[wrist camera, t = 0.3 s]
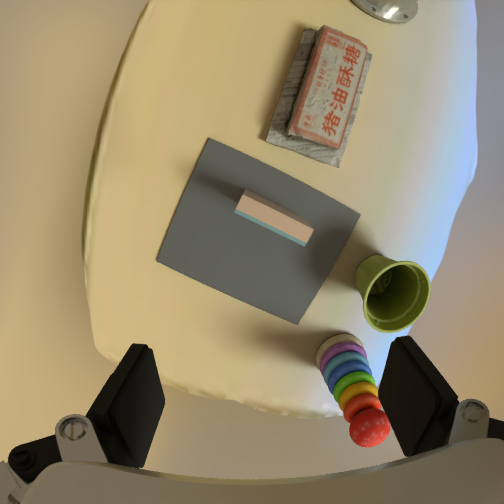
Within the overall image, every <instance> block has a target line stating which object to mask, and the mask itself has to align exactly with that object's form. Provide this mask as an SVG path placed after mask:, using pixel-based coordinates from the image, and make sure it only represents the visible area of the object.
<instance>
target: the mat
mask: <svg viewBox="0 0 504 504" xmlns="http://www.w3.org/2000/svg"><path fill="white" fill-rule="evenodd" d="M245 190H248V191H250V192H252V193H254V194H257V195H259V196H261V197H263V198H265V199H267V200H269V201H271V202H273V203H275V204H277V205H279V206H281V207H283V208H285V209H287V210H289V211H291V212H293V213H295V214H297V215H299V216H301V217H302V218H303V219H304V220H305V221H306V222H307V223H308V224H309V225H310V226H311V227H312V228H313V229H314V230H313V232H312V234H311V236H310V238H309V240H308V242H307V243H306V245H305V247H304V246H302V245H300V244H298V243H296V242H294V241H292V240H290V239H288V238H286V237H284V236H282V235H280V234H278V233H276V232H274V231H272V230H270V229H268V228H265V227H263V226H261V225H259V224H257V223H255V222H253V221H251V220H249V219H247V218H245V217H243V216H240V215H238V214H236V213H234V211H235V209H236V207H237V205H238V203H239V201H240V199H241V197H242V195H243V193H244V191H245ZM359 217H360V214H359V213H357V212H355V211H354V210H352V209H350V208H348V207H347V206H345V205H343V204H341V203H340V202H338V201H336V200H334V199H332V198H331V197H329V196H327V195H325V194H323V193H322V192H320V191H318V190H316V189H314V188H312V187H310V186H308V185H307V184H305V183H303V182H301V181H299V180H297V179H295V178H293V177H291V176H289V175H287V174H285V173H283V172H281V171H279V170H277V169H275V168H273V167H271V166H269V165H267V164H265V163H263V162H261V161H259V160H257V159H255V158H253V157H250V156H248V155H246V154H244V153H242V152H240V151H237V150H235V149H233V148H231V147H229V146H226V145H224V144H222V143H220V142H217V141H215V140H213V139H210V138H209V140H208V142H207V144H206V146H205V148H204V150H203V152H202V154H201V156H200V159H199V161H198V163H197V165H196V167H195V169H194V172H193V174H192V176H191V178H190V180H189V183H188V185H187V187H186V189H185V192H184V194H183V196H182V199H181V201H180V203H179V206H178V208H177V210H176V213H175V215H174V218H173V220H172V223H171V225H170V227H169V230H168V232H167V235H166V238H165V240H164V243H163V245H162V248H161V250H160V253H159V256H158V258H157V262H159V263H161V264H163V265H165V266H167V267H169V268H171V269H173V270H176V271H178V272H180V273H182V274H184V275H186V276H188V277H190V278H192V279H194V280H197V281H199V282H201V283H203V284H205V285H207V286H209V287H212V288H214V289H216V290H218V291H220V292H223V293H225V294H227V295H229V296H231V297H234V298H236V299H238V300H240V301H243V302H245V303H247V304H249V305H252V306H254V307H256V308H259V309H261V310H263V311H266V312H268V313H270V314H273V315H275V316H277V317H280V318H282V319H284V320H287V321H289V322H292V323H294V324H296V325H298V323H299V322H300V320H301V318H302V317H303V315H304V314H305V312H306V310H307V309H308V307H309V305H310V304H311V302H312V301H313V299H314V297H315V296H316V294H317V292H318V291H319V289H320V287H321V285H322V284H323V282H324V280H325V279H326V277H327V275H328V274H329V272H330V270H331V268H332V267H333V265H334V263H335V261H336V260H337V258H338V256H339V254H340V252H341V251H342V249H343V247H344V245H345V243H346V242H347V240H348V238H349V236H350V234H351V232H352V230H353V229H354V227H355V225H356V223H357V221H358V219H359Z"/></svg>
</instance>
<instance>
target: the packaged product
mask: <svg viewBox="0 0 504 504" xmlns="http://www.w3.org/2000/svg"><path fill="white" fill-rule="evenodd" d="M371 57H372V54H370V53H368V52H367V46H366V45H364V44H363V43H362V42H361V41H360V40H359V39H356V38H354V37H351V36H348V35H346V34H343V33H342V32H341V31H338V30H336V29H332V28H330V27H328V26H326V25H323V26H322V27H321V29H319V30H318V31H316V30H313V29H304V32H303V34H302V37H301V40H300V43H299V46H298V49H297V51H296V54H295V56H294V59H293V62H292V65H291V68H290V71H289V74H288V76H287V79H286V81H285V84H284V87H283V89H282V93H281V96H280V99H279V102H278V104H277V107H276V110H275V113H274V116H273V119H272V121H271V124H270V127H269V131H268V134H267V138H266V142H268V143H271V144H273V145H275V146H278V147H281V148H285V149H288V150H292V151H294V152H297V153H299V154H301V155H304V156H306V157H309V158H311V159H314V160H316V161H319V162H321V163H325V164H328V165H332V166H335V167H338V168H339V166H340V162H341V159H342V156H343V154H344V151H345V148H346V144H347V141H348V138H349V135H350V132H351V128H352V125H353V122H354V119H355V115H356V112H357V109H358V105H359V102H360V95H361V94H362V91H363V87H364V84H365V80H366V76H367V72H368V69H369V65H370V62H371Z"/></svg>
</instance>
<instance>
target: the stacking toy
mask: <svg viewBox="0 0 504 504" xmlns="http://www.w3.org/2000/svg"><path fill="white" fill-rule="evenodd" d="M316 365H317V367H318V369H319V370H320V371H321V374H322V375H323V377H324V381H325V383H326V384H327V386H328V388H329V391H330V392H331V393H332V394H333V395H334V398H335V400H336V402H337V403H339V407H340V409H341V410H342V411H343V414H344V418H345V420H346V421H347V422H349V423H351V424H350V428H349V432H350V436H351V439H352V440H353V441H354V442H355V443H356V444H357V445H359V446H362V447H373V446H376V445H378V444H380V443H381V442H383V441H384V440H385V439H386V437H387V436H388V434H389V431H390V422H389V420H388V418H387V415H386V413H385V412H383V411H381V410H380V409H381V403H380V400H379V398H378V389H377V387H376V386H375V380H374V378H373V377H372V372H371V369H370V368H369V363H368V360H367V355H366V352H365V350H364V347H363V344H362V342H361V341H360V340H359V339H358V338H356V337H355V336H352V335H348V334H341V335H336V336H334V337H331V338H330V339H328V340H327V341H325V342H324V343H323V344H322V345H321V346H320V348H319V350H318V352H317V354H316Z"/></svg>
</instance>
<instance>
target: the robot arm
mask: <svg viewBox="0 0 504 504" xmlns="http://www.w3.org/2000/svg"><path fill="white" fill-rule="evenodd" d="M352 1H353V2H354V3H355V4H356V5H357V6H358V7H359V8H361V9H362V10H363V11H365V12H366V13H368V14H370V15H371V16H373V17H375V18H377V19H380V20H383V21H385V22H390V23H398V24H400V23H406V22H408V21H410V20H411V19H413V18H414V17H415V15H416V14H417V11H418V4H417V0H352ZM378 398H379V400H380V403H381V405H382V407H383V409H384V411H385V413H386V415H387V418H388V420H389V422H390V424H391V426H392V429H393V430H394V433H395V435H396V437H397V440H398V442H399V444H400V446H401V449H402V451H403V453H404V455H405V456H406V457H407V458H403V459H400V460H396V461H392V462H388V463H384V464H380V465H376V466H372V467H366V468H361V469H356V470H351V471H345V472H339V473H332V474H326V475H317V476H307V477H296V478H281V479H220V478H205V477H194V476H185V475H176V474H169V473H162V472H155V471H149V470H143V469H139V467H140V468H142V467H143V466H144V464H145V461H146V458H147V455H148V452H149V449H150V446H151V443H152V440H153V437H154V434H155V431H156V428H157V426H158V423H159V420H160V417H161V414H162V411H163V408H164V405H165V397H164V393H163V390H162V386H161V382H160V378H159V374H158V370H157V366H156V362H155V358H154V354H153V350H152V349H151V348H148V346H147V345H146V344H135V343H133V344H132V345H131V346H130V348H129V349H128V351H127V352H126V354H125V355H124V357H123V359H122V360H121V362H120V363H119V365H118V366H117V368H116V370H115V371H114V373H112V374H111V375H110V377H109V379H108V380H107V382H106V383H105V385H104V386H103V388H102V390H101V391H100V393H99V395H98V396H97V398H96V399H95V401H94V403H93V404H92V406H91V408H90V409H89V411H88V412H87V414H86V416H83V415H80V414H72V415H68V416H65V417H63V418H62V419H61V420H60V421H59V422H58V423H57V425H56V427H55V435H51V436H48V437H45V438H42V439H39V440H35V441H32V442H29V443H25V444H22V445H19V446H17V447H15V448H14V449H12V451H11V452H10V454H9V457H8V462H7V463H5V462H4V461H2V462H0V504H504V421H500V420H497V419H493V418H489V410H488V408H487V406H486V405H485V404H484V403H482V402H481V401H479V400H476V399H466V400H463V401H462V402H460V403H459V401H458V400H457V399H458V396H457V395H456V393H455V392H454V391H453V389H452V388H451V387H450V385H449V384H448V383H447V381H446V380H445V379H444V377H443V376H442V375H441V374H440V372H439V371H438V370H437V368H436V367H435V366H434V365H433V363H432V362H431V361H430V360H429V359H428V357H427V356H426V355H425V353H424V352H423V351H422V350H421V348H420V347H419V346H418V345H417V344H416V342H415V341H414V340H413V339H412V337H410V336H402V337H397V338H396V339H395V340H394V341H393V342H392V343H391V345H390V349H389V353H388V357H387V361H386V365H385V369H384V372H383V376H382V379H381V383H380V386H379V389H378Z"/></svg>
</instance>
